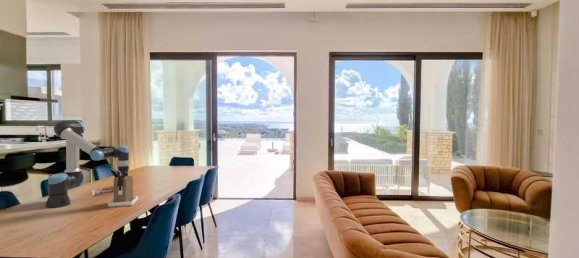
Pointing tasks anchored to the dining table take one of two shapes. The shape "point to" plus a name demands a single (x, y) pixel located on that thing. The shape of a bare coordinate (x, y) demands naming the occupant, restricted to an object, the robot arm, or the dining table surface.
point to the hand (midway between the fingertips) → (123, 192)
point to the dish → (113, 204)
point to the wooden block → (124, 189)
